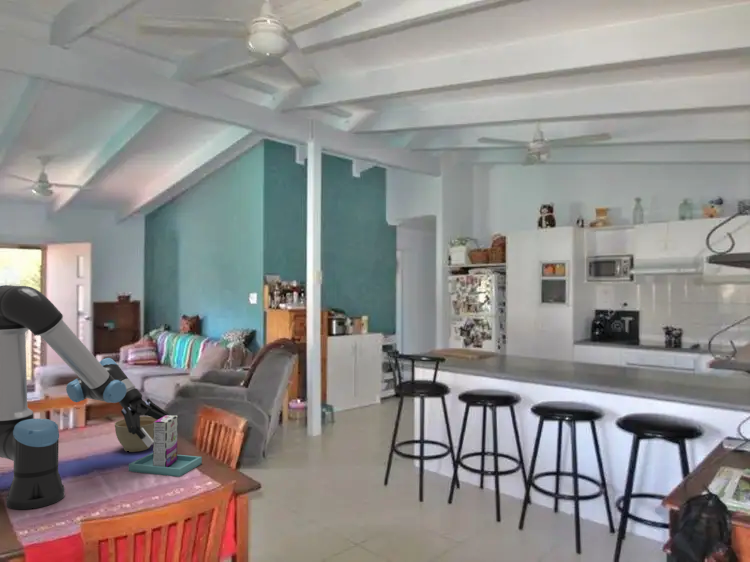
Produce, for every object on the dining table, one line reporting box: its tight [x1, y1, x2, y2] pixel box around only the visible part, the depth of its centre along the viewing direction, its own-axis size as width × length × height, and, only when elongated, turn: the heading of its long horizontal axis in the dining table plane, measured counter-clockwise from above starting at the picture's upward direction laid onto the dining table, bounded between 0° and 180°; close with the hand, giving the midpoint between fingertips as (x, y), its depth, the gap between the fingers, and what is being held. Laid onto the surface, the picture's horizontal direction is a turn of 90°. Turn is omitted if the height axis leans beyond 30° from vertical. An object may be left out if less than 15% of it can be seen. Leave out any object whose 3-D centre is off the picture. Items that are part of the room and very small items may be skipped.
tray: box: [128, 452, 203, 478], centre depth 201 cm, size 14×20×2 cm
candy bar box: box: [152, 414, 179, 467], centre depth 201 cm, size 11×5×16 cm, turn 0°
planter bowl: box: [114, 416, 157, 453], centre depth 222 cm, size 16×16×11 cm
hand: (163, 439), depth 201 cm, fingers open, 13 cm apart
